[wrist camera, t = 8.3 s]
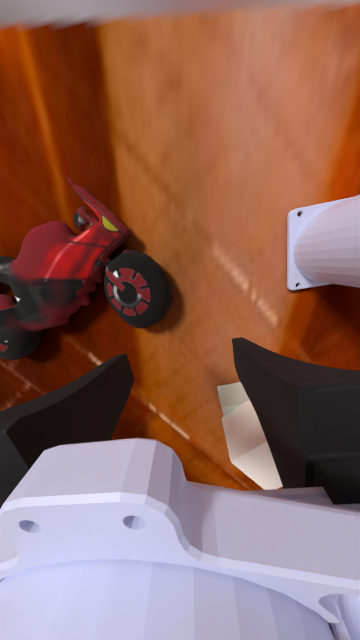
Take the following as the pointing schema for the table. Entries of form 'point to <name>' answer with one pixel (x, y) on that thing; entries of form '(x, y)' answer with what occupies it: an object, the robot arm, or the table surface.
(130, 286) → the toy motorcycle
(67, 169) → the table surface
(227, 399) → the sage base brick
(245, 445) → the cream brick
